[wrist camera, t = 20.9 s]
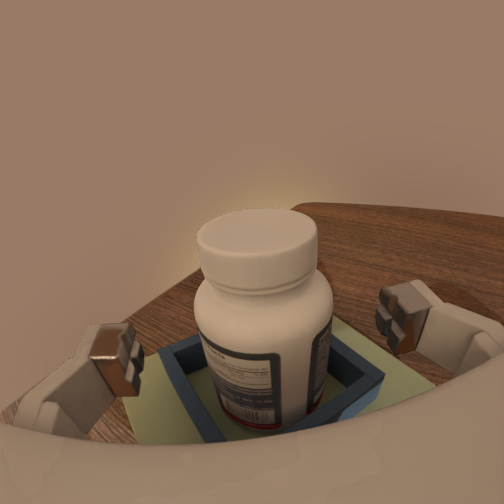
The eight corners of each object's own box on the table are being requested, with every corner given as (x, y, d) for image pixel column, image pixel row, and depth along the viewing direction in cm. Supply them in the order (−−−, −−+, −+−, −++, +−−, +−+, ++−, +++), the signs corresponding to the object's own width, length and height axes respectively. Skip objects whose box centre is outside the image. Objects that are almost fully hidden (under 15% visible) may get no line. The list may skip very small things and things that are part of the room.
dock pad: (200, 555, 6) (180, 551, 5) (118, 378, 16) (100, 344, 14) (430, 395, 13) (449, 360, 11) (299, 302, 22) (300, 267, 21)
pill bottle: (291, 344, 17) (289, 194, 13) (342, 406, 12) (374, 235, 8) (205, 374, 15) (167, 219, 11) (239, 451, 11) (198, 285, 7)
